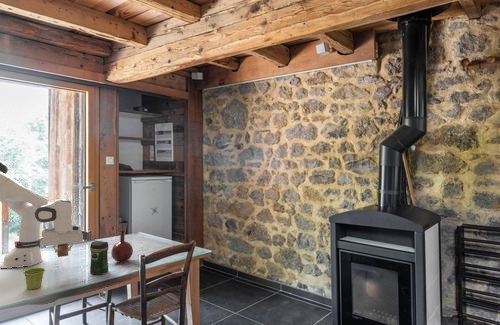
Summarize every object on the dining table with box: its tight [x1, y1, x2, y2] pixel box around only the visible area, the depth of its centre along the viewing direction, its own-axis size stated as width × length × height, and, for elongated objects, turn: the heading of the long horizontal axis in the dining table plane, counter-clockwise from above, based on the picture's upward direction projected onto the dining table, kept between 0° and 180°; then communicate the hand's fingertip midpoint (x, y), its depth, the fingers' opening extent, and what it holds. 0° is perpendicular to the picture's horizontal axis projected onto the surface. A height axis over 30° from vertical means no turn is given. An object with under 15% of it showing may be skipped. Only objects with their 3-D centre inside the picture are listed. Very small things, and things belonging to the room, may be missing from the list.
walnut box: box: [56, 243, 70, 258], centre depth 188 cm, size 5×5×6 cm
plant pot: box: [22, 267, 46, 290], centre depth 171 cm, size 9×9×9 cm
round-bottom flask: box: [110, 230, 134, 263], centre depth 214 cm, size 13×13×20 cm
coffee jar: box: [89, 240, 109, 276], centre depth 193 cm, size 10×8×19 cm
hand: (62, 251), depth 189 cm, fingers closed on walnut box, 5 cm apart
